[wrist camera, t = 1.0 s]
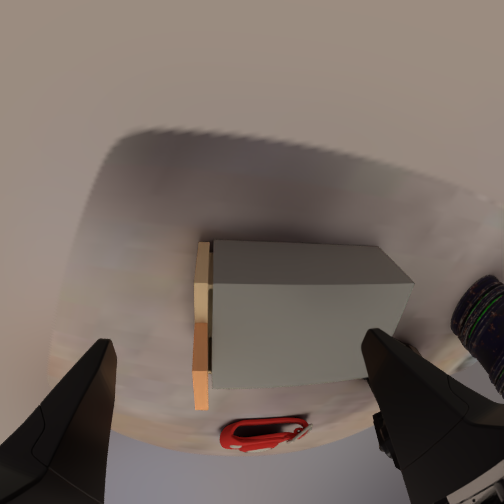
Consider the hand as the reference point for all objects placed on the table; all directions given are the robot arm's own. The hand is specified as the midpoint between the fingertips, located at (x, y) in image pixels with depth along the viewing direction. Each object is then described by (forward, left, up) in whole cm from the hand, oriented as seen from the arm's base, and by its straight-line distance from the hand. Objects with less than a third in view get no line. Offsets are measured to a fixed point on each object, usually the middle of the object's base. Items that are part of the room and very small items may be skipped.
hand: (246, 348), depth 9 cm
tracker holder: (-24, -21, -14) cm, 35 cm away
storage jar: (+8, -34, -14) cm, 37 cm away
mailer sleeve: (-3, -9, -13) cm, 16 cm away
